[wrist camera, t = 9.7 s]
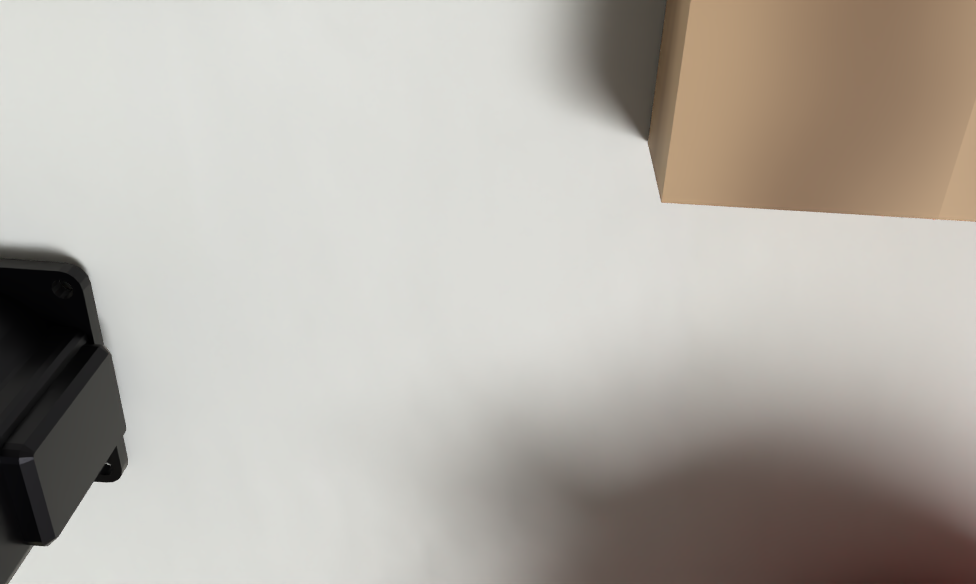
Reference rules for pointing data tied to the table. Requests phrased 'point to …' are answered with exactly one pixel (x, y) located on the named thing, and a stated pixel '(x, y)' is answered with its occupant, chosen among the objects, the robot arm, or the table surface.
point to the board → (818, 106)
